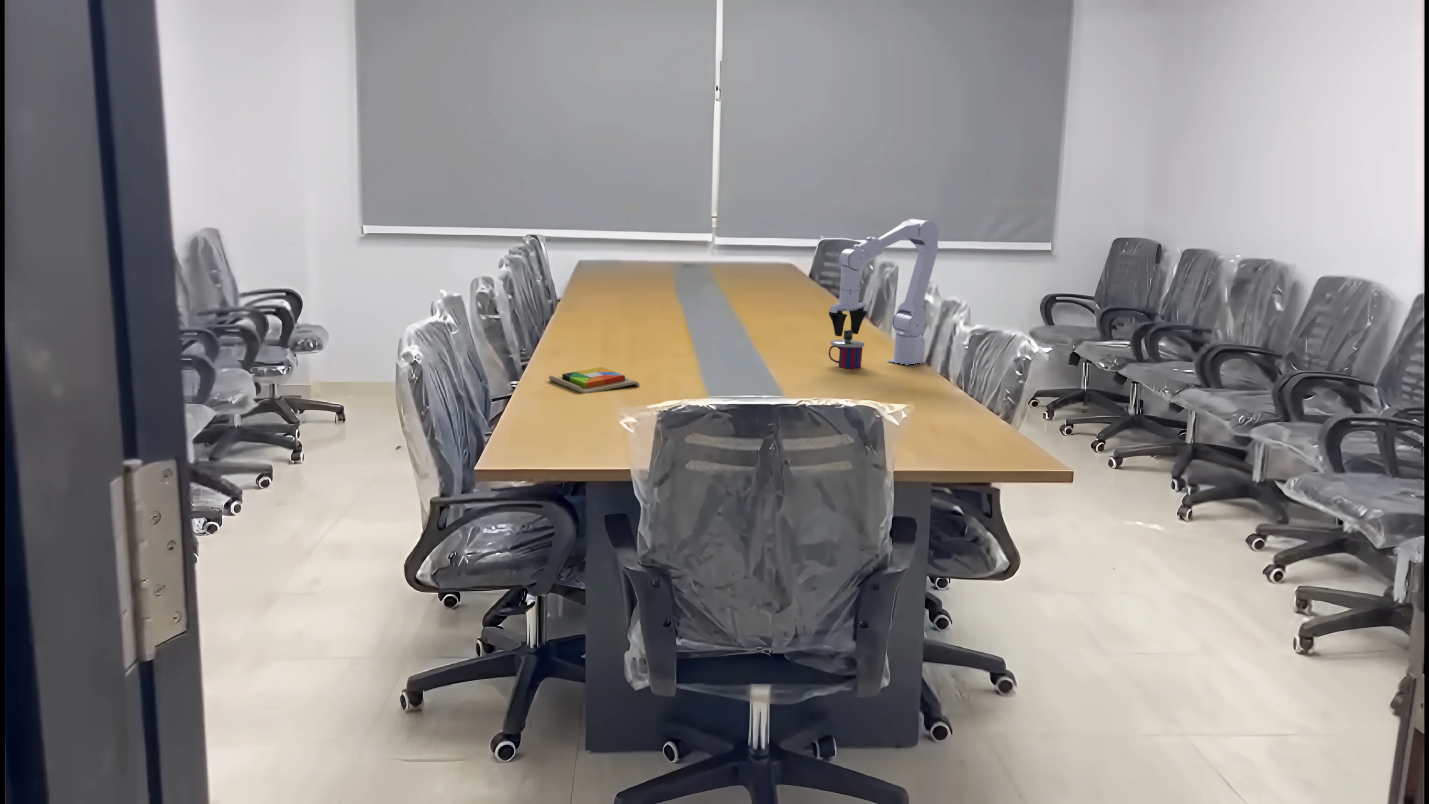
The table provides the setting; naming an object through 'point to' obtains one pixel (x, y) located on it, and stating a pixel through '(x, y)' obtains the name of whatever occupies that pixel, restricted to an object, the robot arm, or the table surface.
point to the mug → (848, 357)
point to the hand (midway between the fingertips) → (846, 334)
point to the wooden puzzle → (593, 380)
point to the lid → (847, 341)
